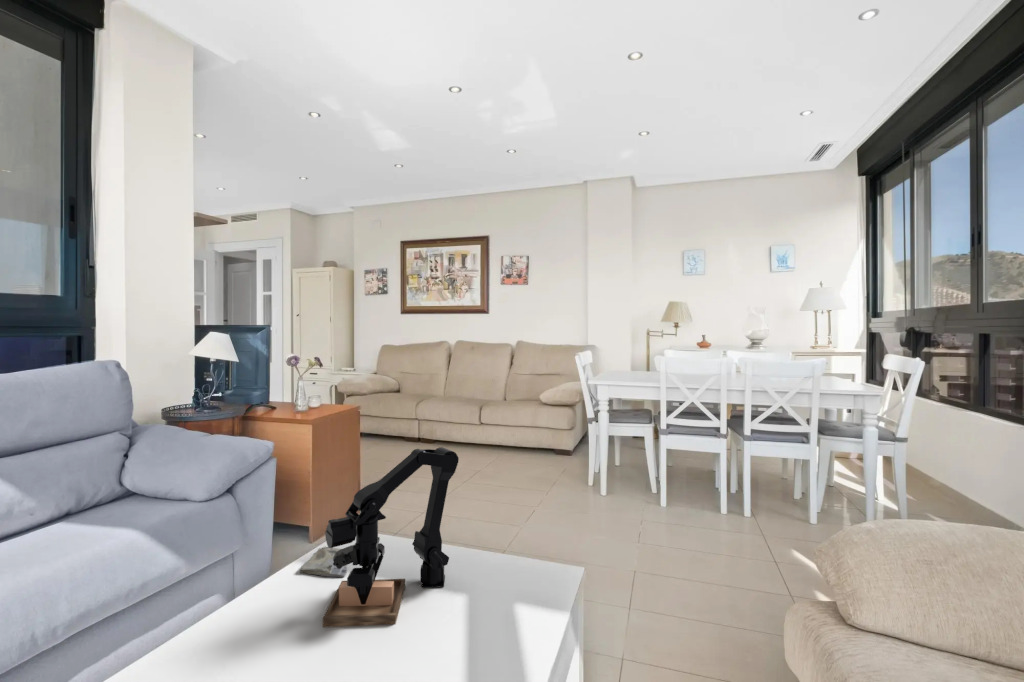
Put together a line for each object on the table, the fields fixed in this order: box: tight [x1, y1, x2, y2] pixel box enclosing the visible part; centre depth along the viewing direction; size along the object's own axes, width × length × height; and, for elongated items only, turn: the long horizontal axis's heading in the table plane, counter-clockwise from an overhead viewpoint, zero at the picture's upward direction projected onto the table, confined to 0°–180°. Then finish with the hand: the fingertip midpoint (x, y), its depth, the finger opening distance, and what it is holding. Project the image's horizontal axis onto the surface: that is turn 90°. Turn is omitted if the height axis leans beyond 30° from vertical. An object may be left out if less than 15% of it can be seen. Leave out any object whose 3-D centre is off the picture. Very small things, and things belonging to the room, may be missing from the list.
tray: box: [322, 578, 406, 628], centre depth 132 cm, size 18×18×2 cm
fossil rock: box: [299, 546, 348, 578], centre depth 155 cm, size 18×15×2 cm
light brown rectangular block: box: [338, 581, 394, 606], centre depth 132 cm, size 14×3×5 cm, turn 92°
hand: (367, 594), depth 132 cm, fingers open, 9 cm apart
